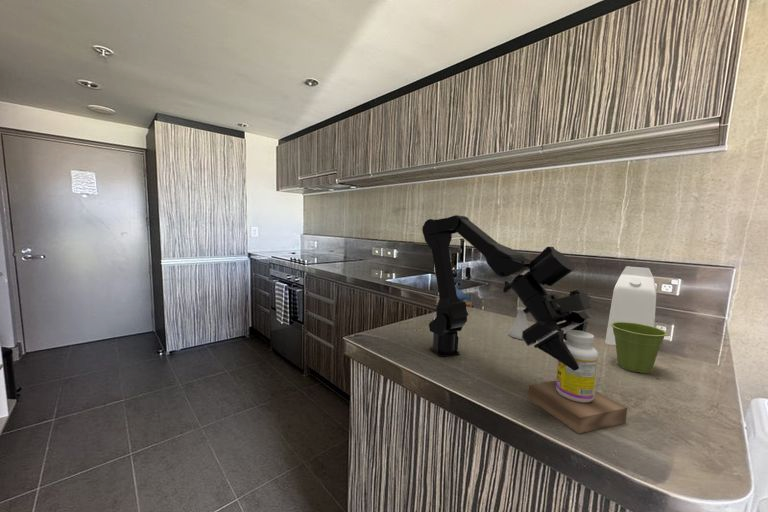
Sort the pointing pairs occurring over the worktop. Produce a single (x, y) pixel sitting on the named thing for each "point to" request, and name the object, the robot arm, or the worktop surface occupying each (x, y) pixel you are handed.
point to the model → (464, 297)
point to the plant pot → (637, 345)
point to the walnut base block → (578, 408)
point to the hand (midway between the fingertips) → (585, 364)
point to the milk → (633, 300)
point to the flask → (519, 324)
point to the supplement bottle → (583, 379)
